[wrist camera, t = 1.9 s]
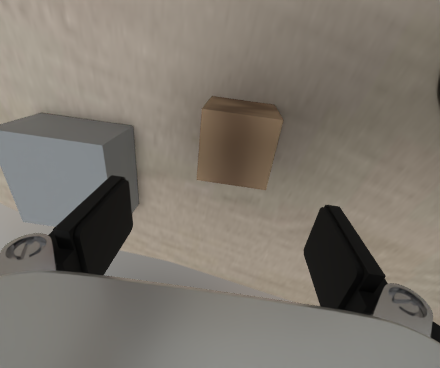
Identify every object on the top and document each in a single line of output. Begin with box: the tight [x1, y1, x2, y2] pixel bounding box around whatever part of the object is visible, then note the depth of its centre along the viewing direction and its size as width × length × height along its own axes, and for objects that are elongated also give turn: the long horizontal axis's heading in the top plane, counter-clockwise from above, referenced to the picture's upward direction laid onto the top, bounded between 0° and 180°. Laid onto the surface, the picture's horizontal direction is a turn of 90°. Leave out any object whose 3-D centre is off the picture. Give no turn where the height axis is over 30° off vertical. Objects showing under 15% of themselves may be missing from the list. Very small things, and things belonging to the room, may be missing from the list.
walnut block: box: [197, 96, 283, 190], centre depth 21 cm, size 6×6×6 cm
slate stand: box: [0, 113, 139, 227], centre depth 24 cm, size 10×10×6 cm
